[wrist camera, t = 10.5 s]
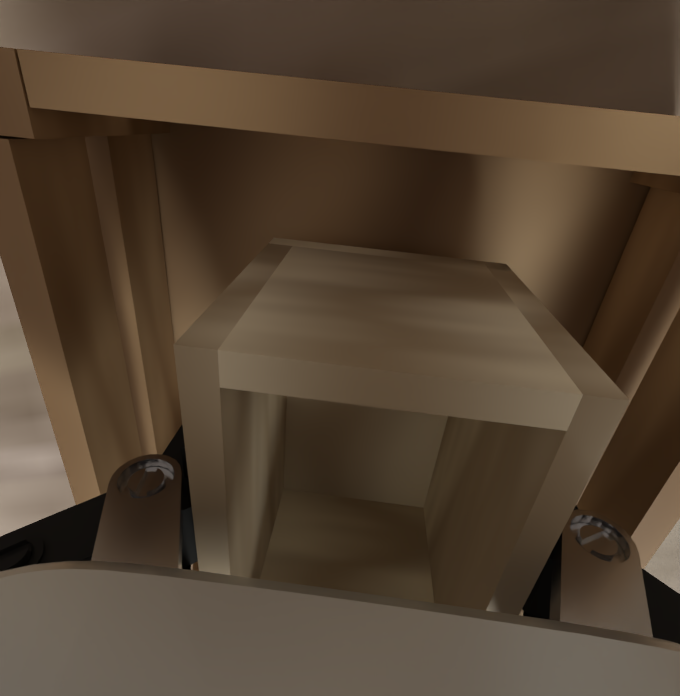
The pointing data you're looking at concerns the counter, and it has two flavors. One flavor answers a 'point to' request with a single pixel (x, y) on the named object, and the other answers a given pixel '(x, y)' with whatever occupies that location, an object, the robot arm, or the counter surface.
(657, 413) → the crate
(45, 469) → the counter surface
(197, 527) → the small crate
